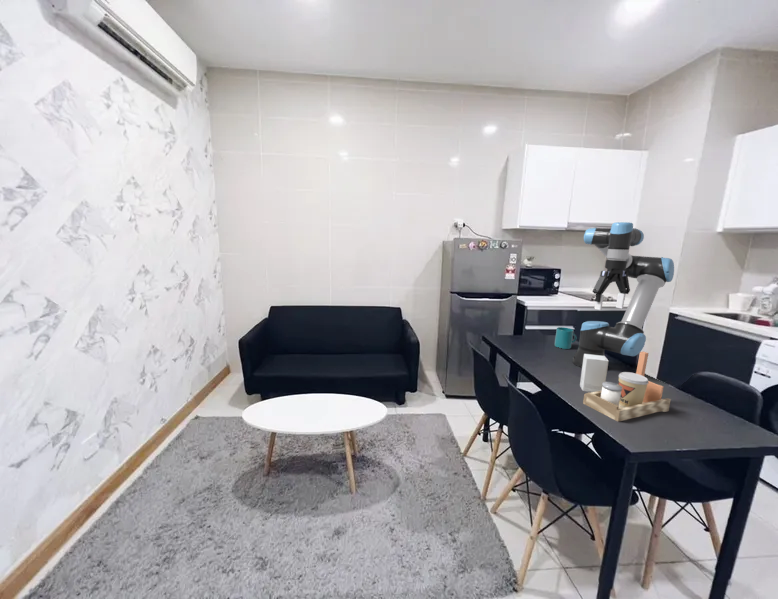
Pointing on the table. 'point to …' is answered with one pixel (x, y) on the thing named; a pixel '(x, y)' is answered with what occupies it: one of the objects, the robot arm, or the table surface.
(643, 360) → the pusher
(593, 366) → the skincare box
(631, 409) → the wooden tray
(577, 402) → the table surface
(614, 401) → the jar
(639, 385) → the coffee cup
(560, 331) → the cup
